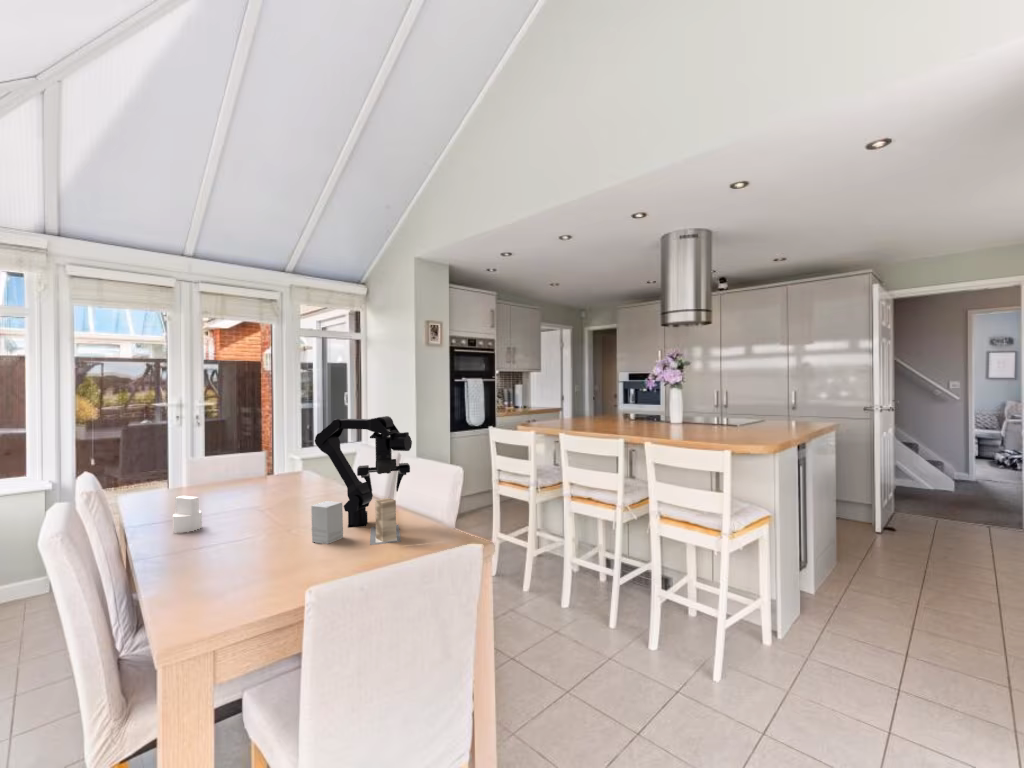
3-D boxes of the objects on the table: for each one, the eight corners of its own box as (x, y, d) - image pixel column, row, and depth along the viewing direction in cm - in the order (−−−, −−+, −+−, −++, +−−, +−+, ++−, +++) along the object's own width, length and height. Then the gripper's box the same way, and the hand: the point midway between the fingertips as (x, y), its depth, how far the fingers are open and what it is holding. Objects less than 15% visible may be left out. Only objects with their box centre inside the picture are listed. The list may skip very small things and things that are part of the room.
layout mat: (369, 546, 157) (369, 544, 157) (370, 528, 177) (370, 526, 177) (400, 542, 160) (400, 541, 160) (398, 525, 179) (398, 524, 179)
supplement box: (343, 538, 165) (343, 502, 165) (327, 545, 159) (326, 507, 159) (328, 535, 169) (327, 500, 168) (311, 542, 162) (310, 505, 162)
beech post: (375, 538, 164) (375, 500, 164) (389, 534, 167) (388, 497, 167) (382, 541, 160) (382, 502, 160) (396, 538, 163) (395, 500, 163)
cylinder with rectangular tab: (167, 531, 176) (166, 499, 176) (191, 524, 184) (190, 493, 184) (183, 534, 173) (182, 501, 173) (207, 527, 181) (206, 495, 181)
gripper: (356, 455, 167) (356, 499, 167) (410, 452, 172) (411, 495, 172) (357, 450, 178) (358, 492, 178) (408, 448, 183) (409, 488, 183)
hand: (384, 492), depth 177 cm, fingers open, 9 cm apart
